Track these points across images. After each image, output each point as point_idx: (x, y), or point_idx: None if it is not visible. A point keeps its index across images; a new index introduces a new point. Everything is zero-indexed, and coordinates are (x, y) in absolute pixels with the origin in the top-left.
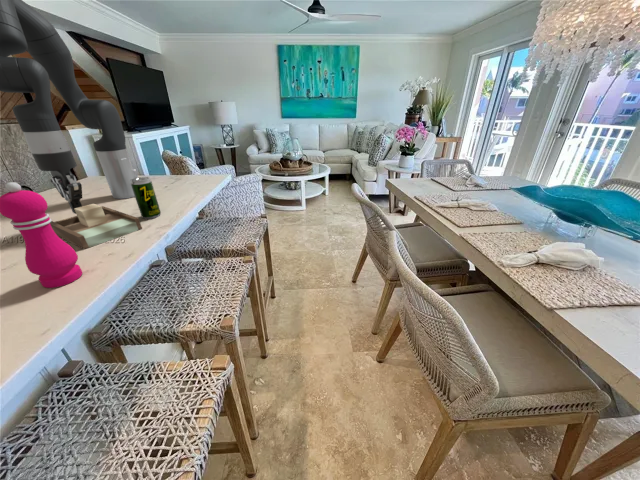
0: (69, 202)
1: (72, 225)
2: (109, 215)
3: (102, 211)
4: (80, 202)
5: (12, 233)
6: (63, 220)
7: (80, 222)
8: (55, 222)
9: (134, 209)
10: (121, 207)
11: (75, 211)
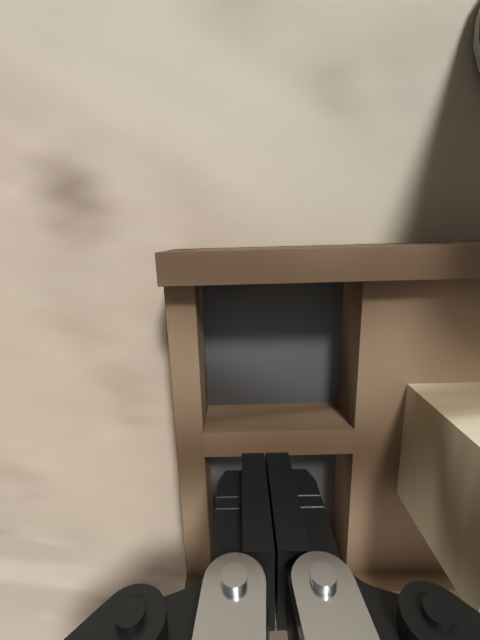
0: (286, 622)
1: (375, 529)
2: (411, 311)
3: None
4: (305, 524)
5: (44, 630)
6: (207, 525)
7: (405, 502)
8: (206, 561)
9: (207, 14)
10: (34, 58)
11: (457, 589)
